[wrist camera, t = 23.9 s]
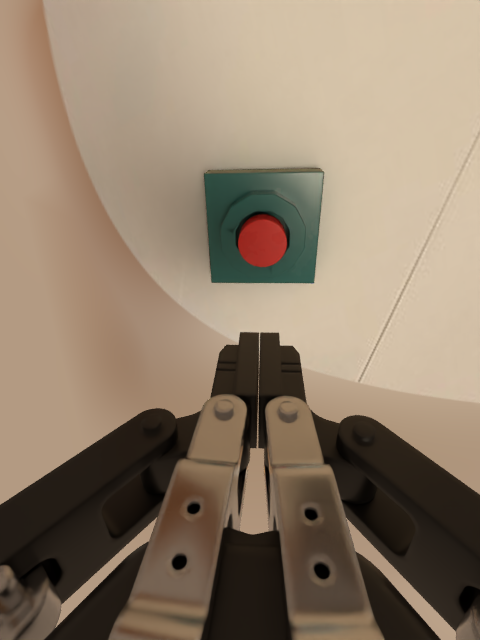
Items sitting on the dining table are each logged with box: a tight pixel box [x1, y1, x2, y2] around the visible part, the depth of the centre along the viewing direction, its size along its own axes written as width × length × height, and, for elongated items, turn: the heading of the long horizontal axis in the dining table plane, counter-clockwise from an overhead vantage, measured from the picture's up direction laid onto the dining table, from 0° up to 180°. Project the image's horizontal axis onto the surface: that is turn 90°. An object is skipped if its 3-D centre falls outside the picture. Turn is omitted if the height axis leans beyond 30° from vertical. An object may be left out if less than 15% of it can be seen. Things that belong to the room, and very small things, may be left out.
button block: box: [204, 168, 324, 283], centre depth 28 cm, size 9×9×4 cm
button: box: [238, 214, 287, 267], centre depth 26 cm, size 4×4×2 cm
